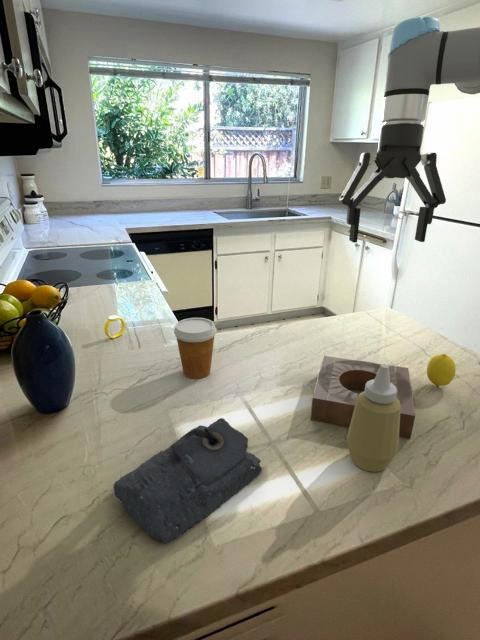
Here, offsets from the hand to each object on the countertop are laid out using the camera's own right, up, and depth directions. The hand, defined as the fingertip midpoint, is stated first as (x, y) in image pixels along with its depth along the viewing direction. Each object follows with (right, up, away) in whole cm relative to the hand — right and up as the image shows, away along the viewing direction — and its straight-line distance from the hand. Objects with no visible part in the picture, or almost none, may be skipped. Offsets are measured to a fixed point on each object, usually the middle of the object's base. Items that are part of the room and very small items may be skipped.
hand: (386, 241), depth 81 cm
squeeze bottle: (-8, -40, -13) cm, 42 cm away
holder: (-5, -33, +2) cm, 33 cm away
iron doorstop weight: (-37, -41, -17) cm, 58 cm away
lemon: (+14, -31, +8) cm, 35 cm away
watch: (-64, -21, +31) cm, 74 cm away
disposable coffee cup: (-40, -28, +13) cm, 50 cm away
